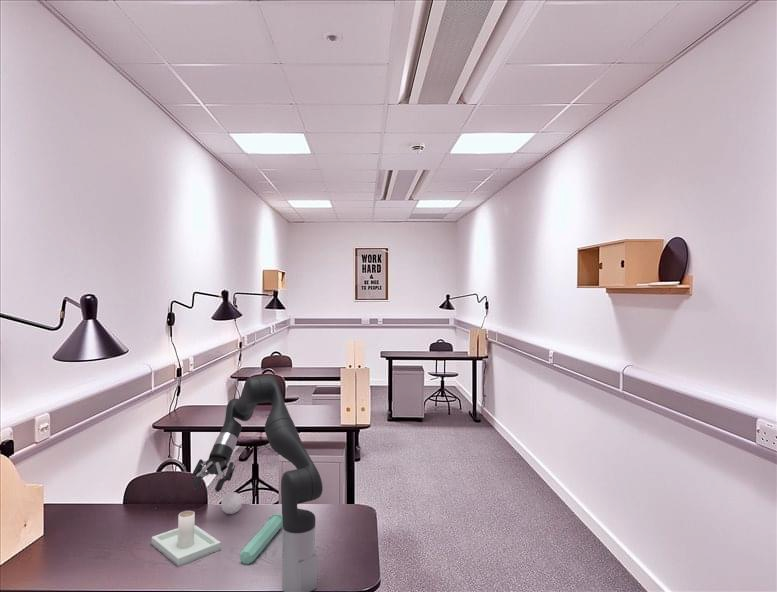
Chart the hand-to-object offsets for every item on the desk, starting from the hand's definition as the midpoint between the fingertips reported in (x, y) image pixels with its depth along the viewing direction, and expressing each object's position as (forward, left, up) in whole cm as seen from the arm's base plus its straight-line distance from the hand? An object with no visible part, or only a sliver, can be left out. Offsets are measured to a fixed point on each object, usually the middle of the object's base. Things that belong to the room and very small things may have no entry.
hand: (205, 489), depth 173 cm
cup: (-6, +10, -14) cm, 18 cm away
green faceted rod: (-23, -8, -15) cm, 29 cm away
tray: (-6, +10, -15) cm, 18 cm away
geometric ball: (+7, -14, -15) cm, 22 cm away
